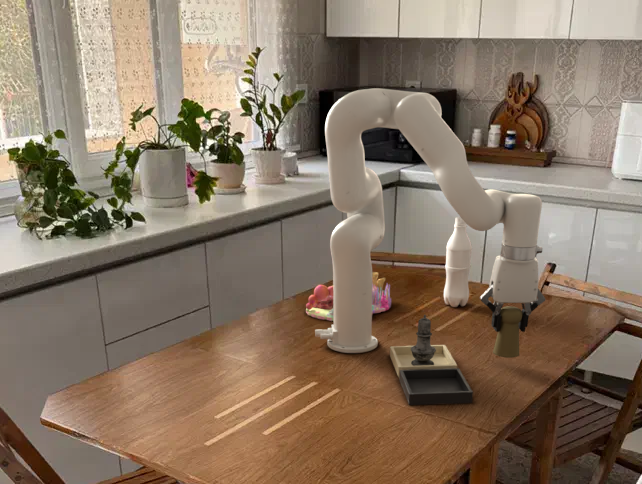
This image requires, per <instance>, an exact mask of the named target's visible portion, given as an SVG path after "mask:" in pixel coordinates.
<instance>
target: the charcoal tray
mask: <svg viewBox="0 0 642 484" xmlns="http://www.w3.org/2000/svg"><path fill="white" fill-rule="evenodd" d="M398 378H399V379H398V380H399V383H400V386H401V389H402V391H403V393H404V395H405V398H406V401H407V403H408V406H419V405H420V406H421V405H423V406H424V405H451V404H452V405H453V404H455V405H456V404H472V403H473V399H474V391H473V390H472V387H471V386H470V384H469V383H468V381H467V380H466V378H465V376H464V375H463V372H462V371H461V369H460V368H459V367H457V368H448V369H415V370H400V374H399V377H398Z"/></svg>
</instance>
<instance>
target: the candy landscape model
mask: <svg viewBox="0 0 642 484" xmlns="http://www.w3.org/2000/svg"><path fill="white" fill-rule="evenodd" d="M385 281H386V277H381V278H379V272H376V271H372V315H374V314H379V313H381V312H386V311H388V310H389V309H391V307H392V297H391V296H390V295H391V284H390V283H389V284H388V283H386V285H385V288H384V284H385ZM383 288H384V290H383ZM305 307H306V309H305V313H306V314H307V316H310V317H312V318H315V319H319V320H326V321H329V322H330V321H331V322H332V321H333V322H334V308H333V284H332V285H330V286H328V287H327V286H326V285H325V284H318V285H316V287H315V288H314V290H313V294H311V295H309V297H308V302H307V303H306V304H305Z"/></svg>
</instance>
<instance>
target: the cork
mask: <svg viewBox="0 0 642 484" xmlns="http://www.w3.org/2000/svg"><path fill="white" fill-rule="evenodd" d="M500 315H501V324H500V331H499V332H497V334H496V338H495V343H494V346H493V350H492V354H494V355H495V356H497V357H500V358H506V359H513V358H518V357H519V356H520V329H519V322H520V321H521V319H522V309H521V308H519V307H517V306H511V305H507V306H502V308H501V311H500Z"/></svg>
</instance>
